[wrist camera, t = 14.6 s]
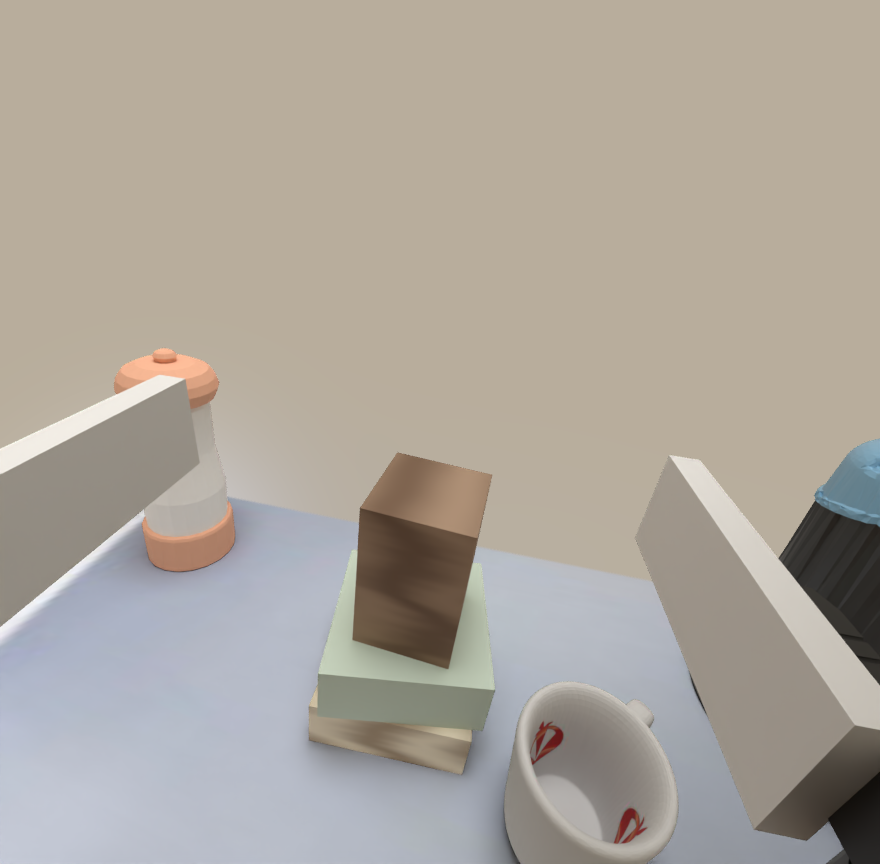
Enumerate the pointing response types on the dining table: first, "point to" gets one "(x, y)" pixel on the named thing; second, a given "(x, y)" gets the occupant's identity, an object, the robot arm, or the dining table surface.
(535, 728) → the cup
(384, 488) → the walnut block
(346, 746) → the tower bottom block
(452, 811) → the dining table surface
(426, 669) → the tower top block
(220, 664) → the dining table surface
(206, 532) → the pepper shaker
